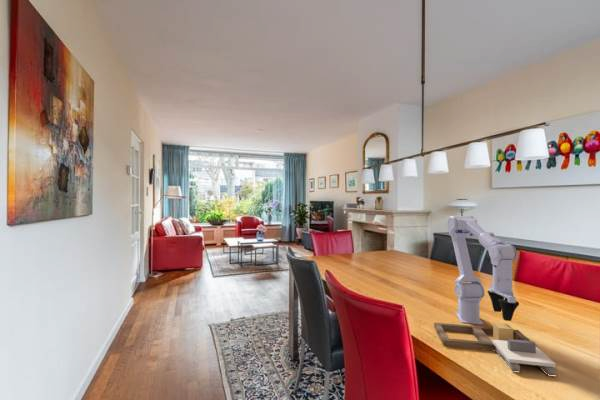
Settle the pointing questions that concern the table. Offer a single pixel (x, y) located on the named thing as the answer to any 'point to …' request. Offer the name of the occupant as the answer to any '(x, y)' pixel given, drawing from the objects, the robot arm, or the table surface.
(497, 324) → the ochre block
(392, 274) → the table surface
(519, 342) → the slide cover
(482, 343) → the brown flat frame
